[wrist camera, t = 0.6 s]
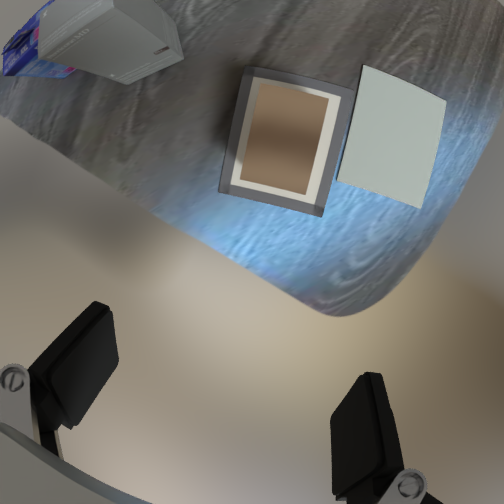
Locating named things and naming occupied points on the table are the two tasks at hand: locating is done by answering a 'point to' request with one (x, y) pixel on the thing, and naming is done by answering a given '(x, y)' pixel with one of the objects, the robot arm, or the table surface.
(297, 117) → the walnut block
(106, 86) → the table surface
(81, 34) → the skincare box
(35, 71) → the ink cartridge box
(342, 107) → the grey framed panel
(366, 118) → the sage mat
